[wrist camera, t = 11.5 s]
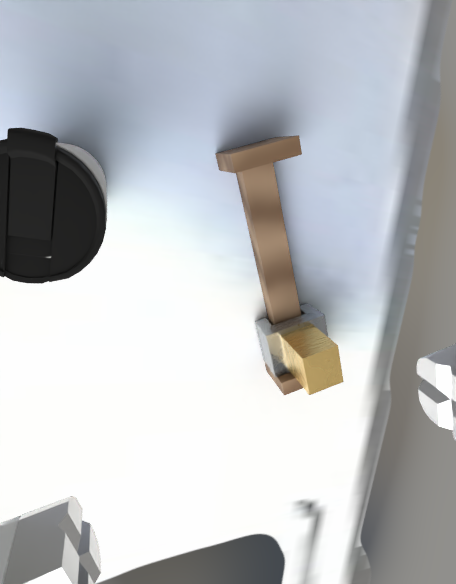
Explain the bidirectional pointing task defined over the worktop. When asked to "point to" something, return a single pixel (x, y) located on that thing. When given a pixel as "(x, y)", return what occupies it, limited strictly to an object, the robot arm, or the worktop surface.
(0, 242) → the travel mug
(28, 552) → the robot arm
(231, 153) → the rail
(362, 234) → the worktop surface
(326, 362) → the slider
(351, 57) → the worktop surface
